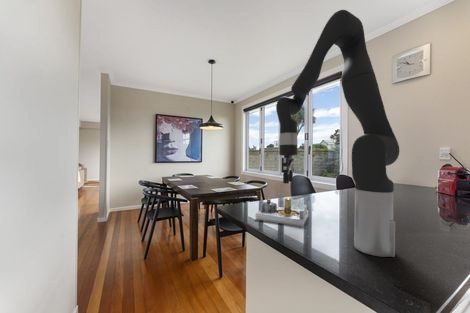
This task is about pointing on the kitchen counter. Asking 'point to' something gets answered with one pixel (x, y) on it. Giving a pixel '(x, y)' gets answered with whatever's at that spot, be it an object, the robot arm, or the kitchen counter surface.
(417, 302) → the kitchen counter surface
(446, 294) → the kitchen counter surface
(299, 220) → the carrier
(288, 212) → the planet gear
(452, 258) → the kitchen counter surface
